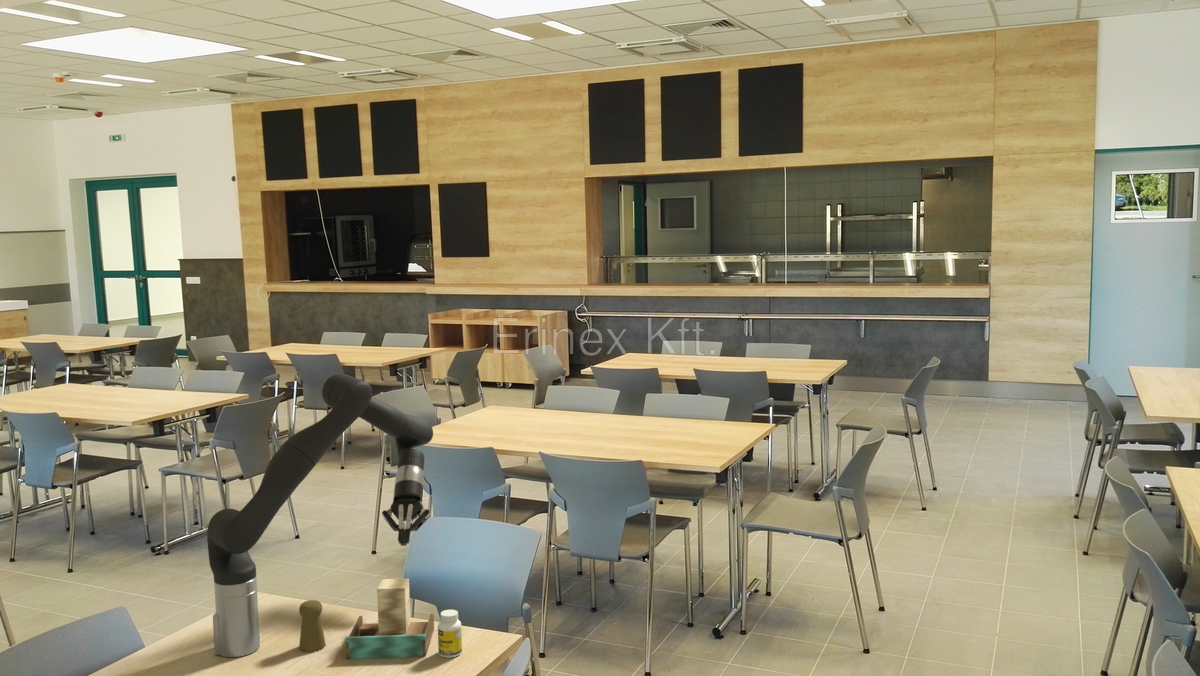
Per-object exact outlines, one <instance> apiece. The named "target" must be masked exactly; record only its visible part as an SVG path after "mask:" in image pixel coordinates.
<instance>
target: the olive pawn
mask: <svg viewBox="0 0 1200 676" xmlns="http://www.w3.org/2000/svg"><path fill="white" fill-rule="evenodd" d="M298 611H299V615H300V616H301V626H300V636H299V637H300V638H299V647H298V650H299V651H300V652H301V651H302V653H305V652H311V653H315V652H314V651H317V652H320V651H322V650H323V648H324V647H325V646H327V644H326V639H325V635H324V629H323V624H322V623H323V622H322V618H321V614H322V612H323V605H322V603H321V601H319V600H317V599H316V600H315V599H311V600H310V599H309V600H306V601H304V602H302V603H301V604H300V605H299V608H298ZM325 648H326V647H325ZM325 648H324V649H325ZM321 649H322V650H321ZM319 650H320V651H319Z"/></svg>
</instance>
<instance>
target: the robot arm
mask: <svg viewBox="0 0 1200 676" xmlns="http://www.w3.org/2000/svg"><path fill="white" fill-rule="evenodd" d="M321 397H322V399H323V401H324V403H325V404H326V405H327V406H328V407H330V408H332V409H331V410H329V412H328V413H327V414H326V415H324V417H323V418H321V419H320V420H318V421H317V422H314V423H313V424H311V425H309V426H307V427H305V428H303V429H302V430H299V431H297V432H296V433H294V434H293V435H291V436H290V437H288V438H287V440H285V442H283V444H282V445H281V446H280V447H279V449H277V451H276V452H275V453H274V455H272V457H271V458H270V460H269V462H268V463H267V466H266V468H265V471H264V474H263V477H262V480H261V482H260V485H259V487H258V488H257V491H256V492H255V494H254V495H253V497H251V498H250V500H249V501H248V502H247V503H246V504H245V506H243V508H242V509H240V510H239V509H236V508H223V509H221V510H219V511H217V512H216V513H214V514H213V516H212V517H211V518H210V520H209V522H208V525H207V530H206V540H207V541H206V542H207V551H208V560H209V567H210V570H211V572H212V576H213V585H214V599H215V600H214V601H215V603H214V604H215V612H214V614H213V615H212V628H213V629H212V630H213V643H214V645H213V646H214V656H221V657H226V658H239V657H244V656H247V655H250V654H253V653H254V652H257V651H258V650H259V649H260V647H261V644H260V642H261V641H260V638H261V637H260V636H261V635H260V623H259V622H260V621H259V620H260V619H259V618H260V617H259V602H258V582H257V567H256V563H255V562H254V561H253V559H252V557H251V555H250V553H249V550H251V549H252V548H253V547H255V545H256V544H257V543H258V542H259V540H260V538H261V537H262V536H263V535H264V533H265V531H266V530H267V528H268V527H269V525H270V524H271V522H272V521H273V519H274V518H275V516H276V514H277V513H278V511H280V509H281V508H282V506H283V505H284V504H285V503H286V501H287V500H288V499H289V498H290V497H291V496H292V495H293V493H294V492H295V491H296V489H298V486H299V485H300V484H301V483H302V482H303V481H304V480H305V479H306V478H307V476H308V475H309V474H310V473H311V471H312V470H313V469H314V468H315V467H316V465H317V463H318V462H319V461H320V460H321V459H322V457H323V456H324V455H325V454H326V453H327V451H329V449H330V448H331V447H332V446H333V444H334V443H335V442H337V440H338V439H339V437H340V436H341V435H342V434H343V433H344V432H346V431H347V429H348V428H349V427H350V426H351V425H352V424H353V423H354V422H355V421H356V420H357V419H358V418H360V419H362V420H363V421H365V422H367V423H368V424H370V425H372V427H374V428H376V429H378V430H380V431H382V432H383V433H385V434H387V435H389V436H390V437H392V438H394V441H395V446H396V450H397V456H398V457H397V458H398V462H397V471H396V475H395V482H394V489H393V492H394V493H393V501H392V503H391V504H390V508H389V509H387V510H384V509H383V511H381V513H382V517H383V520H385V522H386V523H387V524H388V526H389V527H390V528H391V529H392V530H393V531H394V532H398V534H397V536H398V537H397V541H398V544H399V545H400V547H402V546H408V544H409V543H411V542H410V541H411V540H410V539H411V533H412V532H413V531H415V532H417V531H418V530H419V529H420V528H422V526H423V524H425V523H426V522H427V520H428V519H430V517H431V513H430V512H431V511H430V509H426V508H424V505H423V503H422V502H423V491H424V486H425V485H424V484H425V483H424V479H425V478H424V477H425V476H424V471H425V470H424V468H425V453H424V452H423V451H421V450H419V449H417V448H418V447H421V446H425V445H427V444H429V443H430V442H431V441H432V439H433V437H434V430H433V427H432V425H431V424H430V422H428V421H427V420H425V418H421V417H418V416H414V415H410V414H406V413H404V412H403V411H400V410H399V409H398V408H396V407H394V406H392V405H390V404H388V403H385V402H383V401H382V400H379V399H377V398H375V397H373V388H372V386H371V384H369V383H368V382H366V381H364V380H363V379H359V378H357V377H354V376H352V375H349V374H344V373H335V374H333V375H331V376H329V377H327V379H326V380H325V381H324V383H323V385H322V388H321ZM393 515H394V516H395V517H396V519H397V520H398V524H397V522H396V521H395V520H394V519H393Z"/></svg>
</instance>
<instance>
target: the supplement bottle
mask: <svg viewBox="0 0 1200 676" xmlns="http://www.w3.org/2000/svg"><path fill="white" fill-rule="evenodd" d="M462 630H463V628H462V622H461V621H460V620H459V611H458V610H455V609H445V610H442V611H441V612H440V621H439V622H438V625H437V643H438V644H437V646H438V647H437V648H438V655H439V656H440V657H442V658H445V657H446V658H447V659H451V658H452V657H453V658H456V656H457V657H459V656H460V655H462V654H463V653H462V652H463V638H462V637H463V635H462V634H463V633H462V632H463V631H462ZM458 655H459V656H458ZM446 658H445V659H446Z"/></svg>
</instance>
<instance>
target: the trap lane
mask: <svg viewBox="0 0 1200 676" xmlns="http://www.w3.org/2000/svg"><path fill="white" fill-rule="evenodd" d="M434 617H435V615H434V613H430V614H429V619H428V621H413V622H411V621H410V624H409V627H408V630H407V632H406V633H384V634H379V625H378V622H377V623H375V622H373V623H370V622H369V623H364V621H363V615H359V616H358V617H357V620H356V622H355V624H354V626H353V628H352V629H351V632H350V634H349V635H348V636H346V637H345V653H346V655H345V656H346V660H357V659H358V660H359V659H360V660H361V659H362V660H363V659H388V658H394V659H395V658H413V657H412V656H425V657H426V656H427V653H428V650H429V648H430V644H431V641H432V638H433V635H434V631H435V618H434ZM410 656H411V657H410Z"/></svg>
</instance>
